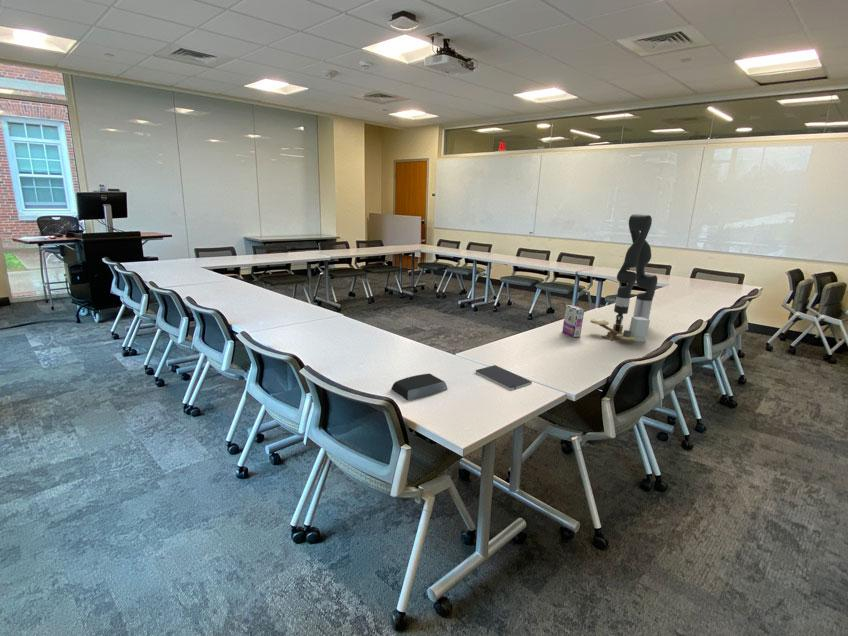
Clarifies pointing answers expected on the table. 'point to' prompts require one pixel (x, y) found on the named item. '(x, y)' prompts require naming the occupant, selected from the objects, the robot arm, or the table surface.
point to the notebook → (503, 377)
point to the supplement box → (639, 328)
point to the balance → (613, 331)
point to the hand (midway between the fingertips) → (617, 331)
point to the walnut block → (619, 329)
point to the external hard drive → (419, 386)
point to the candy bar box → (573, 320)
